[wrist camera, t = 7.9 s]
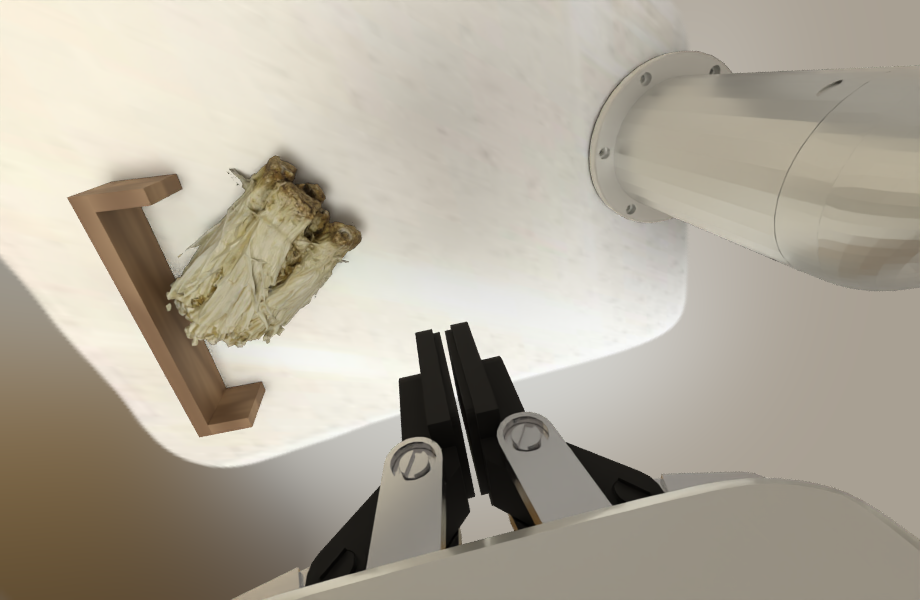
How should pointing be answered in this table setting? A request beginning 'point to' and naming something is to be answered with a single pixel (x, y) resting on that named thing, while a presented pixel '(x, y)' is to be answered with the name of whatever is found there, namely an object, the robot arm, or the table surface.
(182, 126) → the table surface
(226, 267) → the beige fibrous lump
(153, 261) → the stand
